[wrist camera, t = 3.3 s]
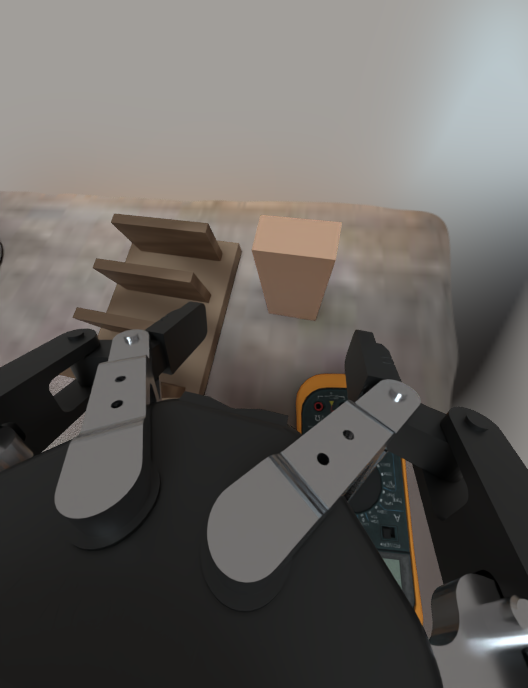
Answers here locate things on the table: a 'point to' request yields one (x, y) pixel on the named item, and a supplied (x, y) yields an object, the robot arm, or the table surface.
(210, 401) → the robot arm
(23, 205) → the table surface
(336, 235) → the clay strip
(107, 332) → the ridged wooden board
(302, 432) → the multimeter
